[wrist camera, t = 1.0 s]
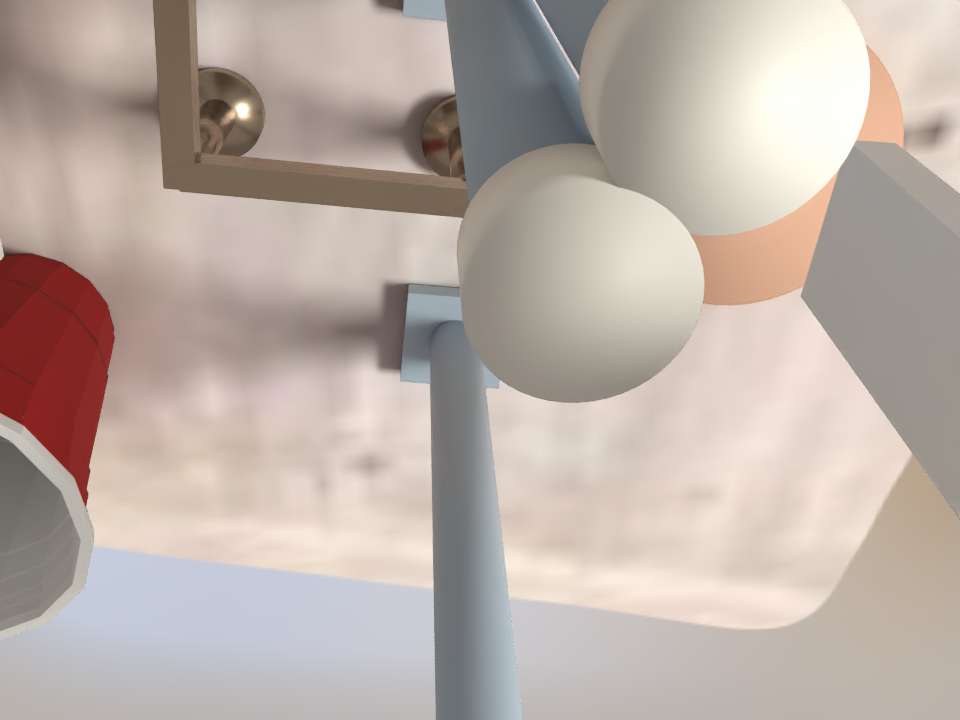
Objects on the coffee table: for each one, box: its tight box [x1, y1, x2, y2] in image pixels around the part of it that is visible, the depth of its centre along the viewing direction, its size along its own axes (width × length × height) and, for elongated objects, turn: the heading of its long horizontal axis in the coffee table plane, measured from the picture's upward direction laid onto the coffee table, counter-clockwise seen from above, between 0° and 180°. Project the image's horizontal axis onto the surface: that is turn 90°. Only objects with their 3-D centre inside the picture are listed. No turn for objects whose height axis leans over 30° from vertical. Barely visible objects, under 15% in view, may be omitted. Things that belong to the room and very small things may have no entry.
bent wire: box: [153, 0, 469, 218], centre depth 28 cm, size 10×12×6 cm
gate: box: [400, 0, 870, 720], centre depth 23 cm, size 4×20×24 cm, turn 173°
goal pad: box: [690, 44, 904, 305], centre depth 34 cm, size 11×11×1 cm
